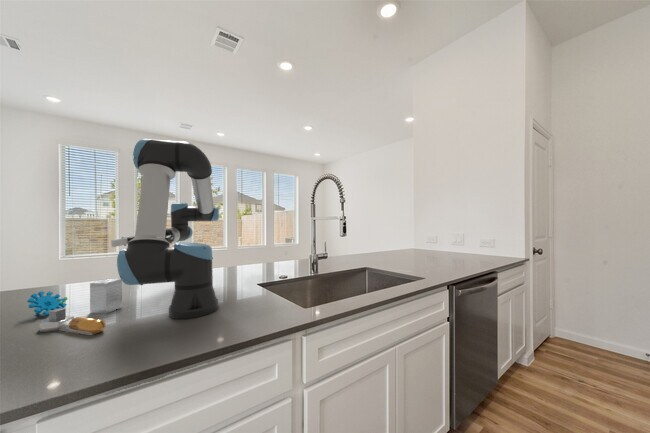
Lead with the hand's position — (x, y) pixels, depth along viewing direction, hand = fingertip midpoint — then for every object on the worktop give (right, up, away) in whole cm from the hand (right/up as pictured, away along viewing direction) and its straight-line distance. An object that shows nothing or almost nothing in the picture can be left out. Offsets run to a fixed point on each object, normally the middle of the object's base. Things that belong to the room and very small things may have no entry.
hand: (128, 243), depth 98 cm
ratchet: (+3, -22, -25) cm, 33 cm away
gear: (-18, -23, -11) cm, 32 cm away
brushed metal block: (-1, -22, -9) cm, 24 cm away
